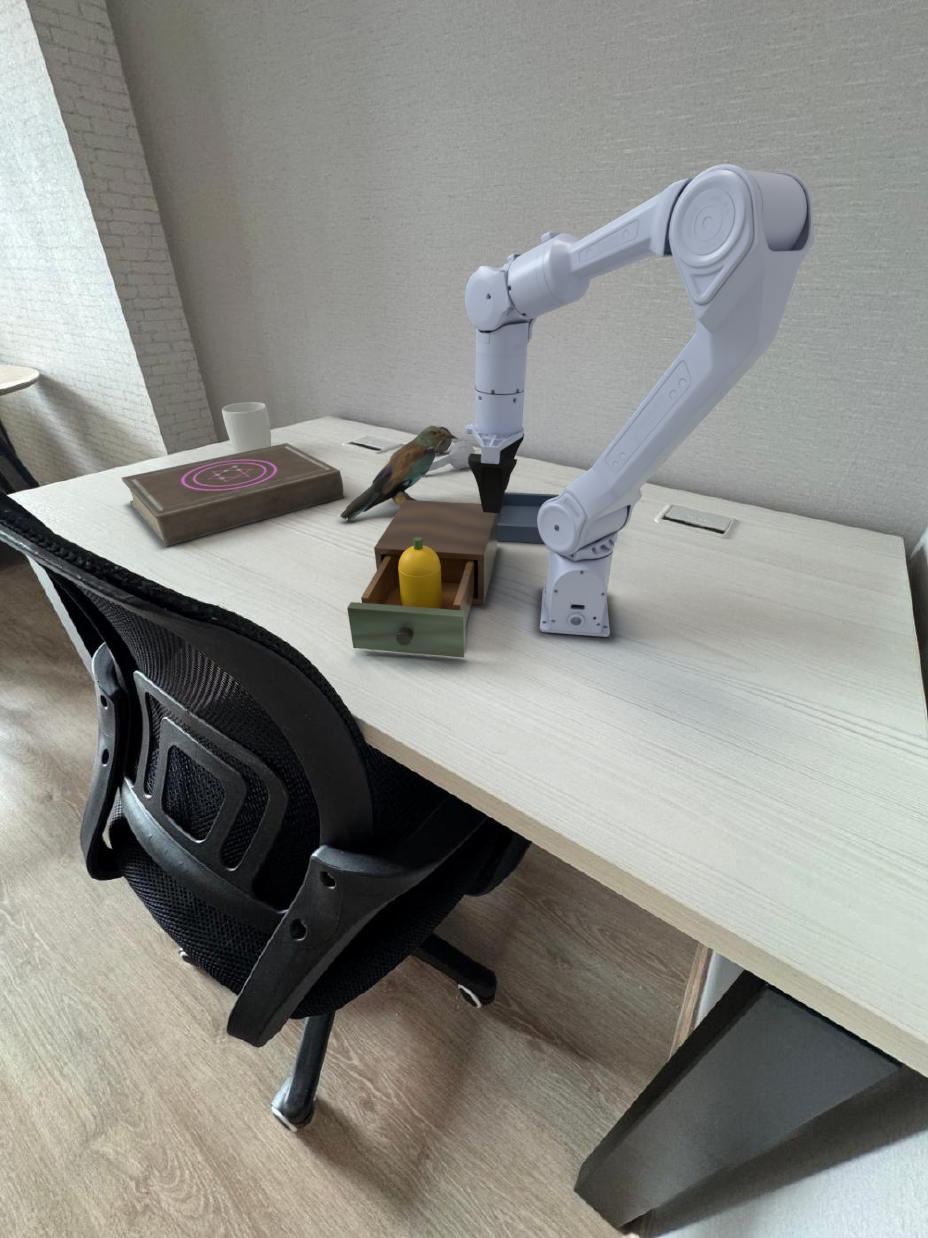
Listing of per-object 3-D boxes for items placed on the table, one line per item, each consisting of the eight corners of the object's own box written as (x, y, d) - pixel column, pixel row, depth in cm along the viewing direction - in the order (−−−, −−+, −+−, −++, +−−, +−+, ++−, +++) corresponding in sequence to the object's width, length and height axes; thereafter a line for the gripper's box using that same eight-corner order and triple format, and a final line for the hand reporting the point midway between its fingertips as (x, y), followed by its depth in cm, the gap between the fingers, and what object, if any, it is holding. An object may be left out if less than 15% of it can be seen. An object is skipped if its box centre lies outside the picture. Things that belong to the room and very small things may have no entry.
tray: (592, 546, 84) (594, 530, 83) (488, 540, 86) (488, 524, 85) (589, 510, 95) (591, 495, 94) (498, 506, 97) (498, 491, 96)
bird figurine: (352, 530, 88) (403, 407, 83) (330, 510, 95) (376, 395, 90) (420, 552, 96) (469, 441, 92) (394, 533, 103) (439, 429, 99)
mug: (281, 455, 122) (272, 407, 116) (240, 464, 118) (228, 414, 112) (261, 442, 130) (251, 397, 125) (222, 449, 126) (210, 403, 121)
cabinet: (483, 605, 71) (484, 554, 67) (379, 597, 73) (373, 547, 69) (497, 549, 83) (498, 504, 80) (408, 544, 85) (404, 499, 81)
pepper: (438, 620, 64) (434, 549, 59) (397, 617, 65) (390, 547, 60) (445, 598, 68) (443, 530, 63) (407, 595, 69) (401, 528, 64)
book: (291, 467, 116) (287, 442, 113) (345, 497, 101) (341, 470, 98) (131, 504, 100) (121, 477, 97) (167, 547, 85) (156, 516, 82)
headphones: (467, 441, 125) (384, 468, 120) (463, 415, 122) (377, 442, 117) (504, 463, 112) (412, 495, 107) (501, 435, 109) (406, 467, 104)
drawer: (462, 664, 59) (461, 623, 56) (349, 654, 61) (343, 614, 58) (481, 589, 72) (481, 552, 69) (388, 582, 74) (384, 546, 71)
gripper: (475, 374, 71) (473, 477, 79) (454, 403, 60) (454, 520, 67) (530, 376, 70) (523, 480, 78) (520, 406, 59) (513, 525, 66)
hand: (495, 499), depth 73 cm, fingers open, 7 cm apart
